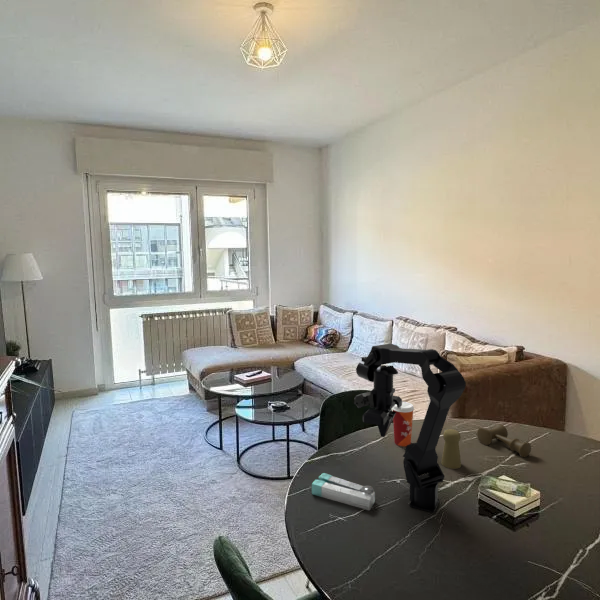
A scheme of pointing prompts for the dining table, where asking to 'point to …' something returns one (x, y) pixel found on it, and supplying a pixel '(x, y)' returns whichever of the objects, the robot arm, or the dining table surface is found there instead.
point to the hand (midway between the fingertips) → (383, 436)
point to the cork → (451, 449)
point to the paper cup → (403, 424)
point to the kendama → (503, 439)
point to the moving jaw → (340, 482)
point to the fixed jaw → (345, 494)
